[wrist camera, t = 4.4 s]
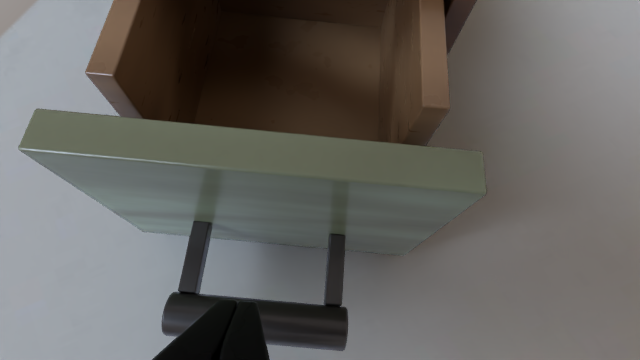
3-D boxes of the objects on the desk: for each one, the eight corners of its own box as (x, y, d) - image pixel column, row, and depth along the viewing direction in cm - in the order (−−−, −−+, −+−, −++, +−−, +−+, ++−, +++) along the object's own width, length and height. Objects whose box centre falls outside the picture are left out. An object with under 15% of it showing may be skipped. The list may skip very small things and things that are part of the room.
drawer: (405, 354, 15) (506, 373, 8) (116, 329, 15) (-62, 324, 7) (403, 34, 21) (457, -121, 14) (201, 14, 21) (149, -154, 14)
